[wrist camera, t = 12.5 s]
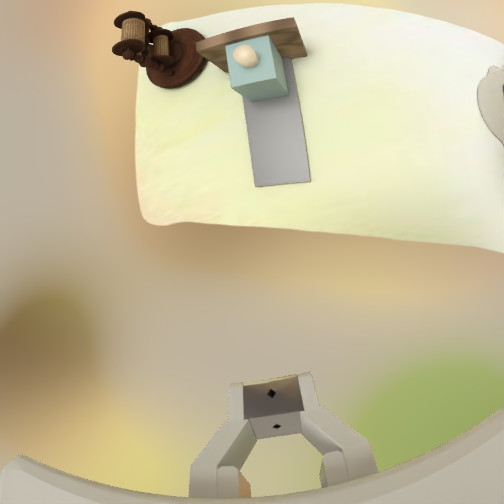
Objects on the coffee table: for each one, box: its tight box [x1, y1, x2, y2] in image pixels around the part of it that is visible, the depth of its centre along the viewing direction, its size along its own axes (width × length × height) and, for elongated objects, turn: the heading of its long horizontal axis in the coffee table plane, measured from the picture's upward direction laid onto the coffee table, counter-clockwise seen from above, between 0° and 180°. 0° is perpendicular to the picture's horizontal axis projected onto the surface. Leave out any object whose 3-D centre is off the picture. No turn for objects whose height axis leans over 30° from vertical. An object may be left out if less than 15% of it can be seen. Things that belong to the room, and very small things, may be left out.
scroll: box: [112, 11, 206, 88], centre depth 38 cm, size 15×15×20 cm
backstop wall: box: [196, 17, 307, 73], centre depth 37 cm, size 16×2×12 cm, turn 98°
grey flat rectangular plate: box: [243, 57, 310, 187], centre depth 45 cm, size 10×24×1 cm, turn 8°
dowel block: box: [225, 35, 289, 102], centre depth 37 cm, size 7×8×13 cm
